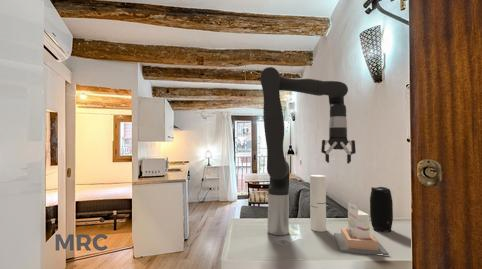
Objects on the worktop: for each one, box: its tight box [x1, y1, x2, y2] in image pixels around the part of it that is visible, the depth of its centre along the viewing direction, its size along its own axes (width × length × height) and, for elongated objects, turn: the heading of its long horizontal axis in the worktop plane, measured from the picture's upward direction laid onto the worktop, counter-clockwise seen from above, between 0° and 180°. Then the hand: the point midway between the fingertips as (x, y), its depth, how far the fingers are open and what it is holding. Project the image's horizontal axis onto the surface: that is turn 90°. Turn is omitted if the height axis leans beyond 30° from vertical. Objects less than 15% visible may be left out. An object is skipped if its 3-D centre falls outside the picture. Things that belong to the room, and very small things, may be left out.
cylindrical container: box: [309, 174, 327, 232], centre depth 118 cm, size 7×7×25 cm
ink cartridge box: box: [347, 202, 371, 240], centre depth 99 cm, size 9×5×15 cm, turn 2°
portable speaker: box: [369, 186, 394, 233], centre depth 117 cm, size 9×9×20 cm
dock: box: [333, 227, 390, 256], centre depth 99 cm, size 16×18×4 cm
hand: (338, 163), depth 111 cm, fingers open, 8 cm apart
